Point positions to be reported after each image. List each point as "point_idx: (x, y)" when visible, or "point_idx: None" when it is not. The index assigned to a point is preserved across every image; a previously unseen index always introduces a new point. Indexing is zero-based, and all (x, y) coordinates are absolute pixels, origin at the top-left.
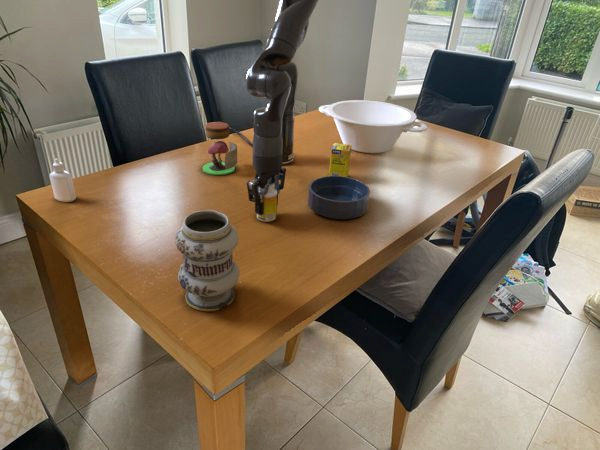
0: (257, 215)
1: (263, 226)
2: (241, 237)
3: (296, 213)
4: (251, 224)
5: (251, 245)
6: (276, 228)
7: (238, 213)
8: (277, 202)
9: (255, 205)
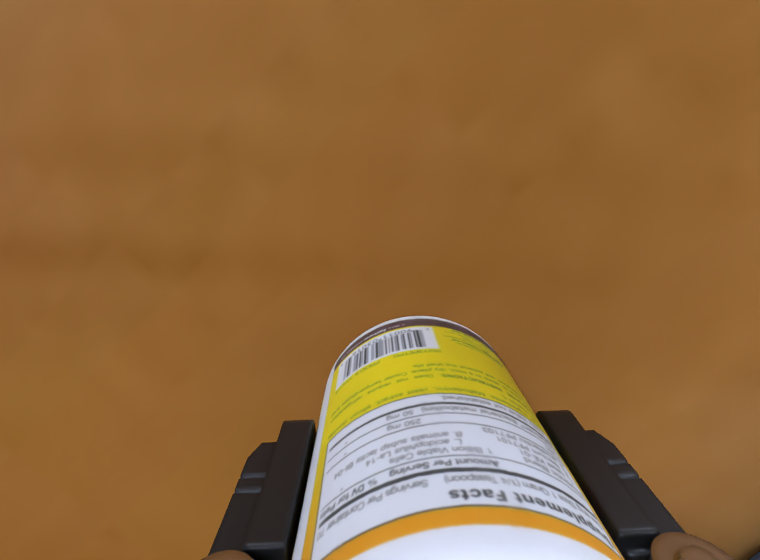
0: (328, 384)
1: None
2: (42, 440)
3: None
4: (239, 372)
5: (38, 545)
6: None
7: (299, 141)
8: None
9: (224, 525)
